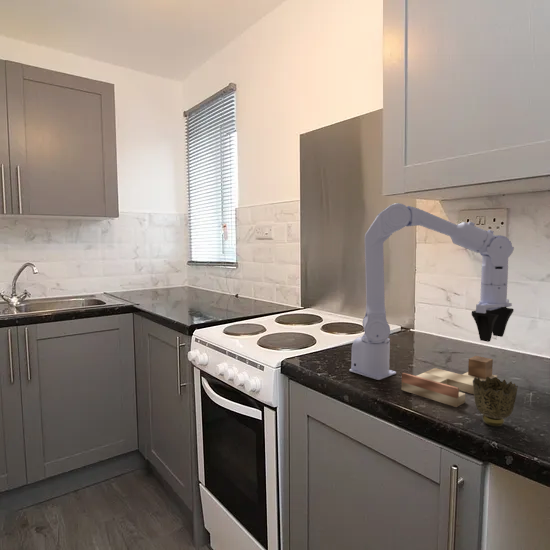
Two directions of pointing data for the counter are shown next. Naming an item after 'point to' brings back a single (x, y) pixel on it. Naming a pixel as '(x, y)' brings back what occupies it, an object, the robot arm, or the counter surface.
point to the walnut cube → (480, 367)
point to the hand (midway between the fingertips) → (491, 338)
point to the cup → (494, 399)
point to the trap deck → (440, 385)
